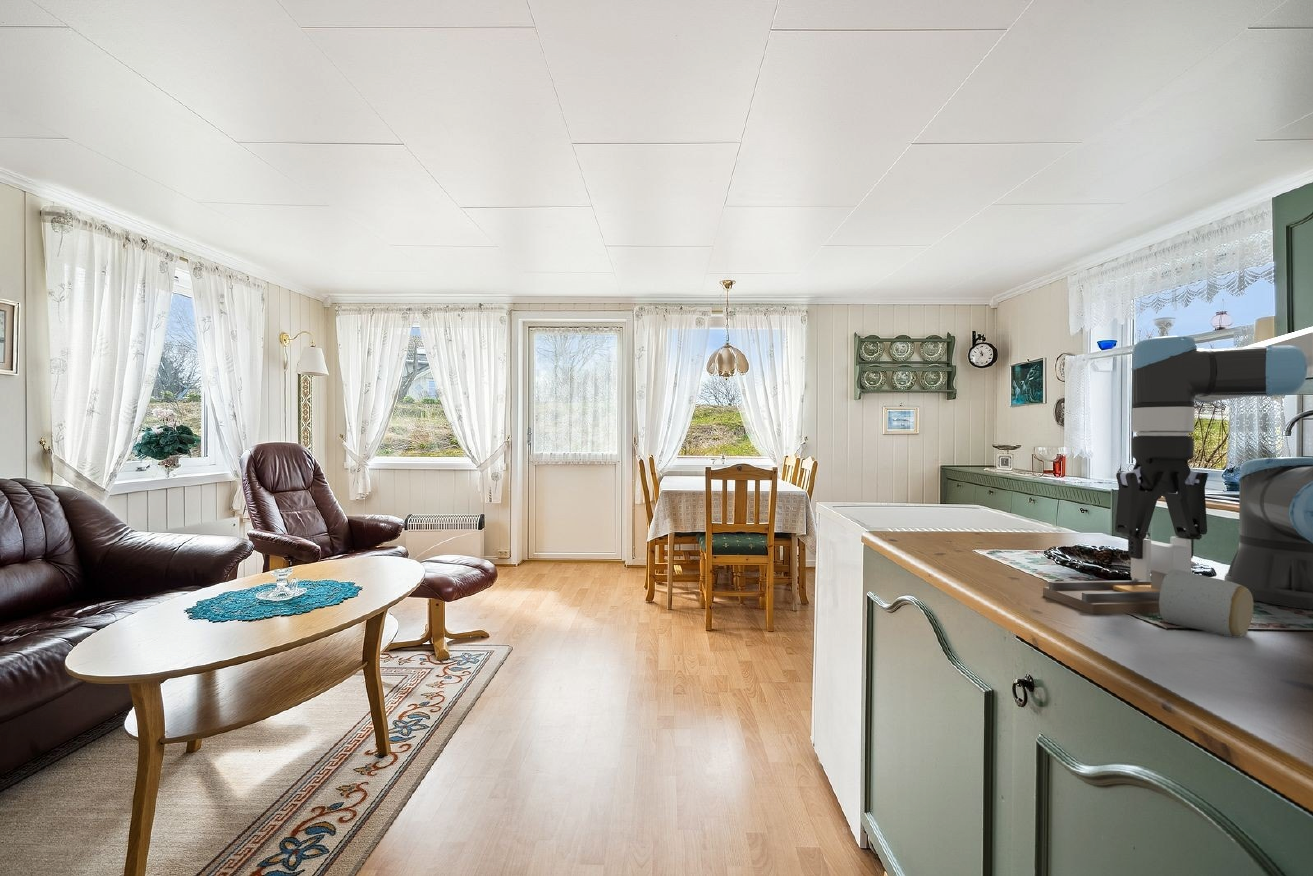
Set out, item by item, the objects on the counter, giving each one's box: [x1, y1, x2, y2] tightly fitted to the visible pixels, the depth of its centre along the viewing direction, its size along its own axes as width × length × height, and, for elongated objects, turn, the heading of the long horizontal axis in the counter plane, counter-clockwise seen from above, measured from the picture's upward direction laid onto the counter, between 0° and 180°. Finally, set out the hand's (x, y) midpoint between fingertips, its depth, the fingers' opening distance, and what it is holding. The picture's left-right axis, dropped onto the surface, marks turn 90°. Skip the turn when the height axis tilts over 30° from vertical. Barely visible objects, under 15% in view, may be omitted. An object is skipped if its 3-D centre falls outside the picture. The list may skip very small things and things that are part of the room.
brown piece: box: [1042, 579, 1160, 615], centre depth 92 cm, size 18×10×3 cm, turn 95°
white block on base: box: [1113, 539, 1192, 592], centre depth 93 cm, size 11×7×8 cm, turn 95°
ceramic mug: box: [1159, 569, 1254, 638], centre depth 81 cm, size 11×8×8 cm
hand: (1160, 578), depth 93 cm, fingers open, 6 cm apart
